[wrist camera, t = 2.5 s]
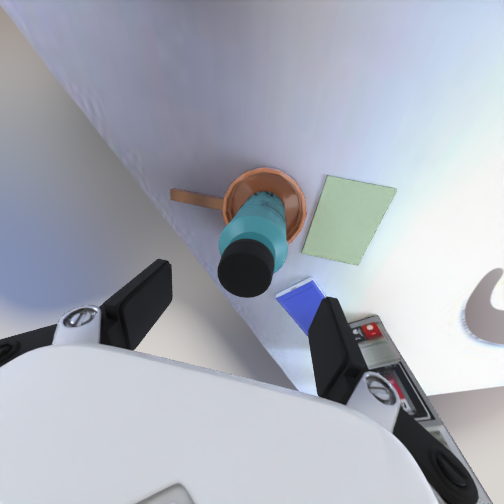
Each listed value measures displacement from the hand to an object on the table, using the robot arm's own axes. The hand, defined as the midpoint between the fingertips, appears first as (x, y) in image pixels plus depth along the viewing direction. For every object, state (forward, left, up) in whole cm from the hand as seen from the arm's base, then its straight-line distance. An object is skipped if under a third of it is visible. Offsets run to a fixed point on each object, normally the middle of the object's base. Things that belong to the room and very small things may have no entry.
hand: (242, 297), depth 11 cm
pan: (0, 0, -22) cm, 22 cm away
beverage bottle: (0, 0, -22) cm, 22 cm away
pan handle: (-10, 0, -20) cm, 22 cm away
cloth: (+13, 0, -22) cm, 25 cm away
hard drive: (+13, -18, -22) cm, 31 cm away
